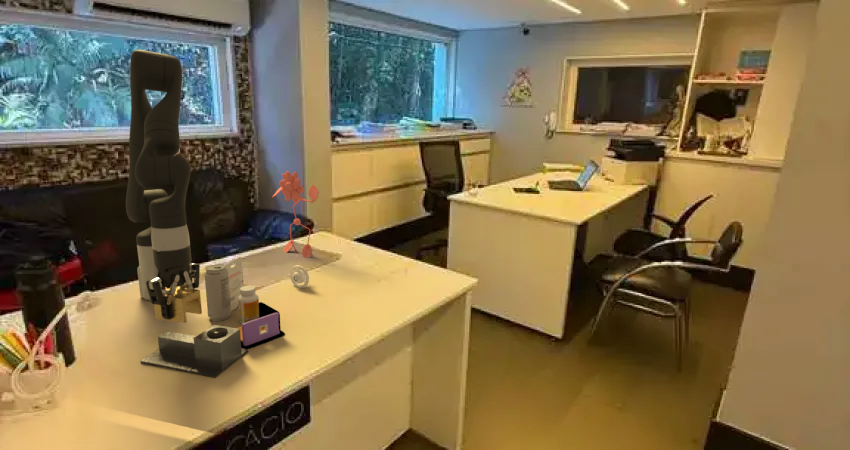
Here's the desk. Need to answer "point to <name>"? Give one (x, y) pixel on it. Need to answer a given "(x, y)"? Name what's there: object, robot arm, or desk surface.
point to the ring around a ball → (299, 276)
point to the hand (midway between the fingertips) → (178, 312)
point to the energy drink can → (217, 292)
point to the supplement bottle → (248, 304)
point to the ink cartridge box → (235, 281)
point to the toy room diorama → (261, 328)
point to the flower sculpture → (293, 191)
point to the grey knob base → (198, 351)
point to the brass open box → (182, 304)
